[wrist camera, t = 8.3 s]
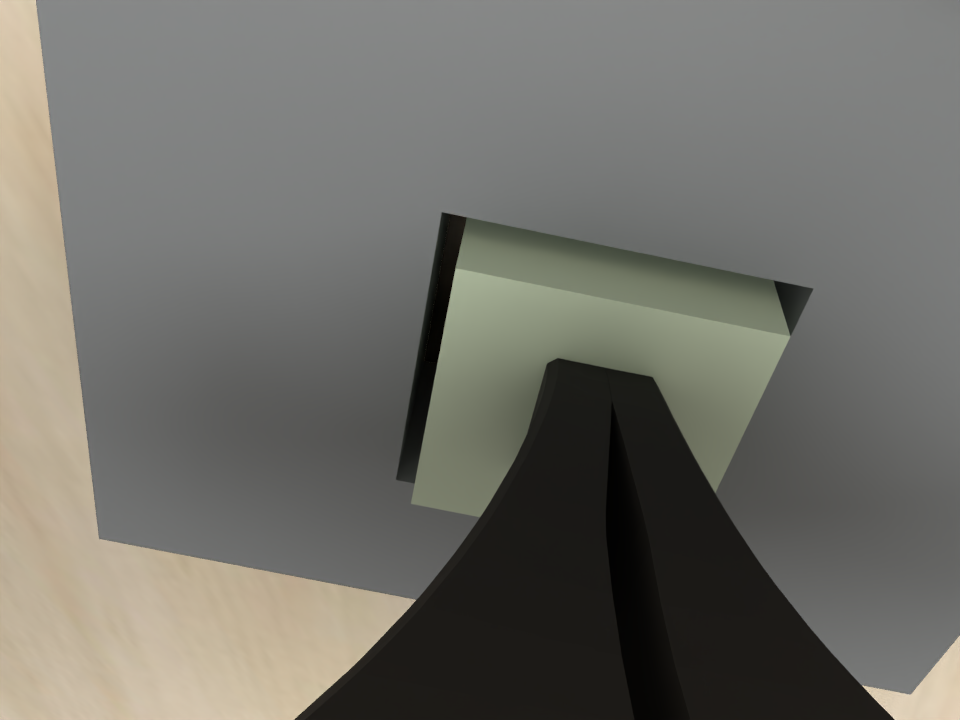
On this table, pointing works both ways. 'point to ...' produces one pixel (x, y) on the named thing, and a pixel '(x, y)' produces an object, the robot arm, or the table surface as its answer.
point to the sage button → (587, 350)
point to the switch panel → (523, 204)
